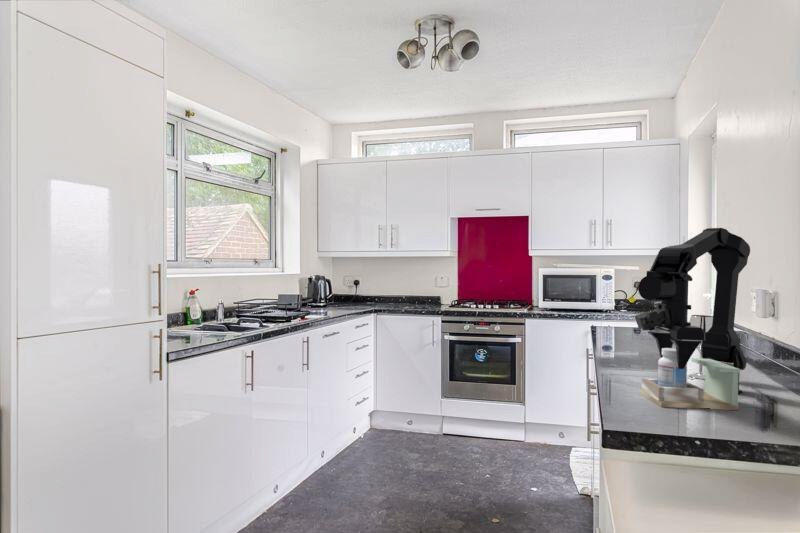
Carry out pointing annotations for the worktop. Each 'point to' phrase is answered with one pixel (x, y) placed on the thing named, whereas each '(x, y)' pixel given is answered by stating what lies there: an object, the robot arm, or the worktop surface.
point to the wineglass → (705, 324)
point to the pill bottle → (670, 370)
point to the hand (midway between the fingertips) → (672, 365)
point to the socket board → (682, 396)
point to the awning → (720, 380)
